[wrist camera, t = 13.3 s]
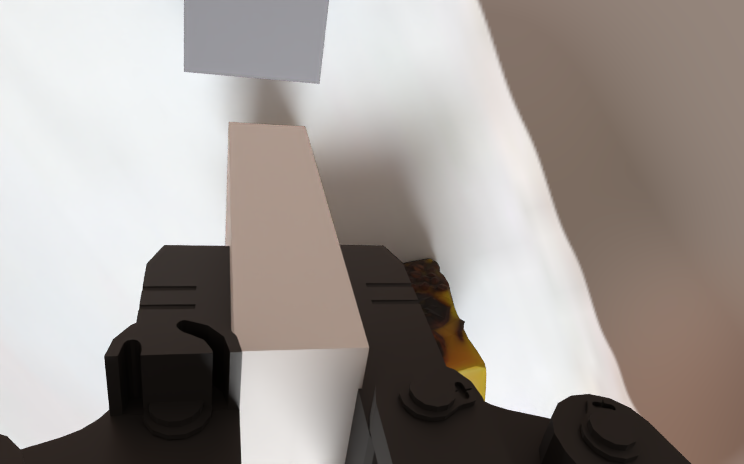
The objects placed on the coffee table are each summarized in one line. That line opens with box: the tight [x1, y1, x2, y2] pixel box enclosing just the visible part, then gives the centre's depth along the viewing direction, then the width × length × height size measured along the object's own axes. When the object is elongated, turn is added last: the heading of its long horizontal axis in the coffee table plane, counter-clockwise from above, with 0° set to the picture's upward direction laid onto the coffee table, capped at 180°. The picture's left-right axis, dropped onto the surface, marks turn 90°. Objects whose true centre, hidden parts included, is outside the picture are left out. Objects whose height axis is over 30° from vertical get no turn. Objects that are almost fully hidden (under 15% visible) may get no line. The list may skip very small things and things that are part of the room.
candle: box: [403, 259, 486, 401], centre depth 39 cm, size 10×10×10 cm
